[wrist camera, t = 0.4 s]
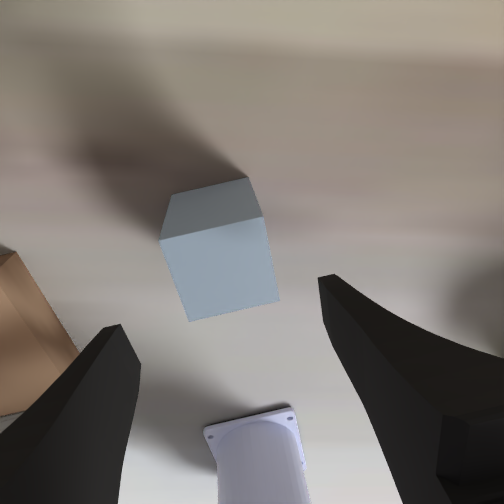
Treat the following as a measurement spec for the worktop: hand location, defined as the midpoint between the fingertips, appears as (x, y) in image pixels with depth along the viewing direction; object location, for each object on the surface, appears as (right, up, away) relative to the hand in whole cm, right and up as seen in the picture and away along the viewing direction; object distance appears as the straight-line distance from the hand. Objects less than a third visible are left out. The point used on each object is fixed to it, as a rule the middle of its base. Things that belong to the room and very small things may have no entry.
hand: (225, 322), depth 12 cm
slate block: (-1, +4, +8) cm, 9 cm away
